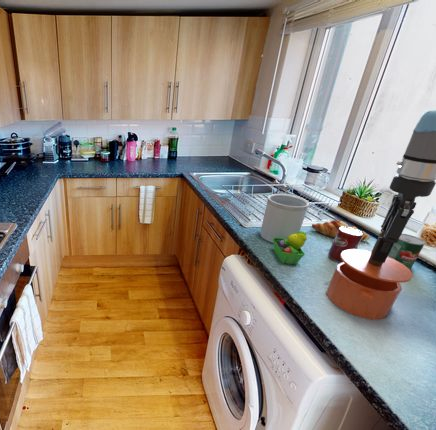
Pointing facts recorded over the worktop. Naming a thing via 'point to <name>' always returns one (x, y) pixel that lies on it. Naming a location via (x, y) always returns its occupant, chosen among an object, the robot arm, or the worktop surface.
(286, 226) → the utensil holder
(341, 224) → the croissant
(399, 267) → the lid
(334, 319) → the worktop surface
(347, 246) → the soda can
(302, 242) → the fruit basket
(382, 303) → the pot
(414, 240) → the canned tomato
